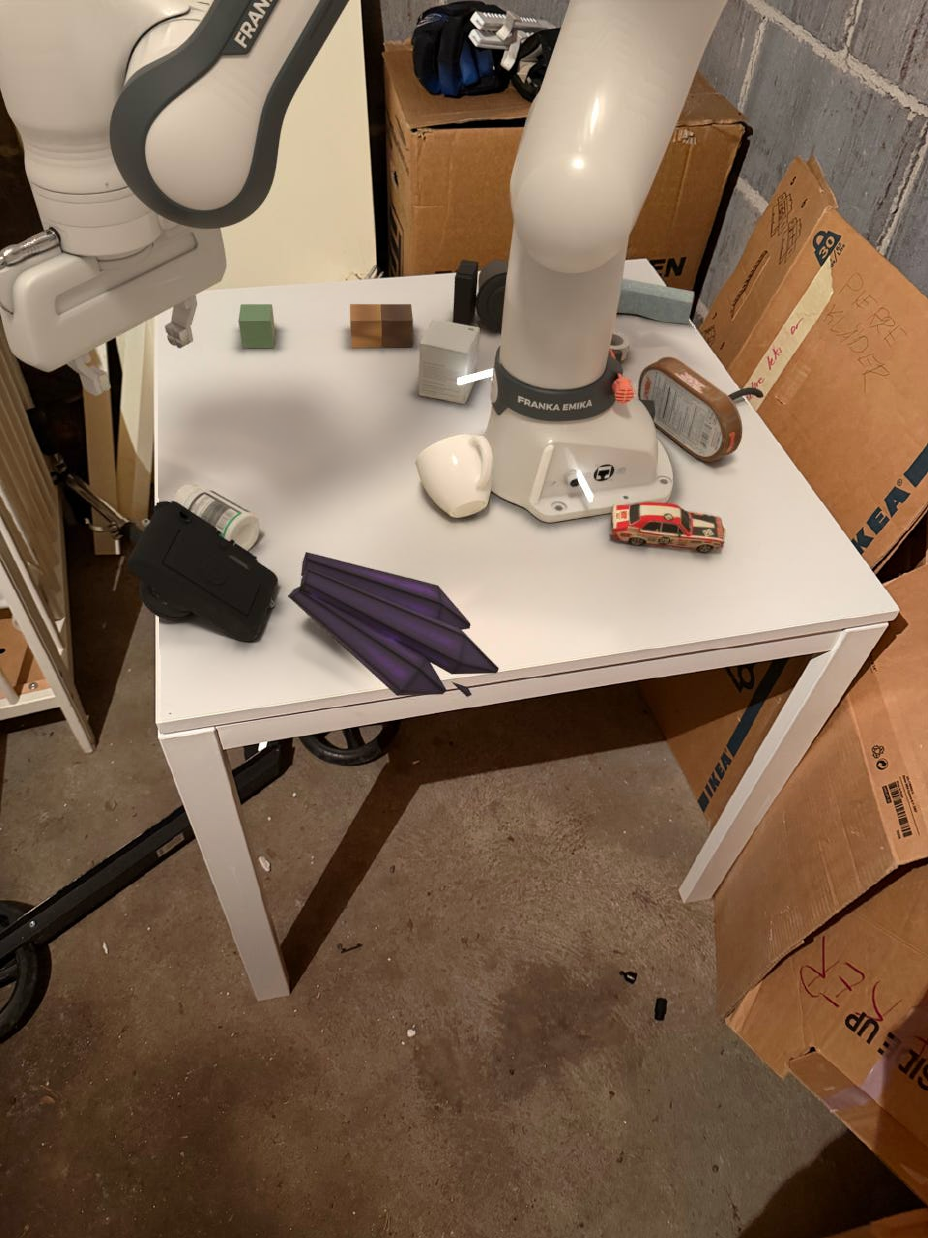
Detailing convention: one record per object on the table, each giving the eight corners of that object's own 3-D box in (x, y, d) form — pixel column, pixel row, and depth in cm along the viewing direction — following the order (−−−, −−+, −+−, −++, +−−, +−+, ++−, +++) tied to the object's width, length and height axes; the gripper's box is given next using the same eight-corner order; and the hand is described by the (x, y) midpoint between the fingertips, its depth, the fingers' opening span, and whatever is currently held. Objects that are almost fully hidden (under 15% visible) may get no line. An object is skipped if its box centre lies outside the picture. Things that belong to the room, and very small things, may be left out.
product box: (432, 369, 113) (433, 317, 108) (477, 378, 112) (481, 326, 107) (417, 395, 109) (418, 343, 104) (464, 405, 109) (468, 352, 103)
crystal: (311, 544, 84) (496, 637, 87) (258, 645, 78) (457, 740, 81) (327, 508, 78) (525, 609, 81) (270, 614, 72) (485, 719, 75)
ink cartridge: (459, 312, 122) (462, 256, 116) (475, 315, 122) (478, 259, 116) (451, 331, 119) (453, 274, 113) (467, 333, 119) (471, 277, 113)
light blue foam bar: (539, 257, 126) (537, 270, 129) (529, 300, 125) (528, 312, 128) (696, 286, 125) (691, 299, 128) (688, 330, 124) (683, 341, 127)
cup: (479, 522, 98) (460, 468, 100) (529, 479, 91) (509, 421, 92) (421, 527, 94) (402, 470, 95) (469, 483, 86) (448, 422, 87)
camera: (230, 664, 85) (255, 603, 90) (270, 635, 81) (294, 573, 86) (95, 584, 79) (130, 523, 84) (131, 548, 74) (165, 486, 80)
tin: (732, 468, 103) (754, 408, 97) (713, 477, 102) (734, 416, 95) (646, 402, 111) (661, 342, 105) (627, 409, 110) (641, 349, 103)
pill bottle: (258, 549, 91) (201, 515, 94) (264, 509, 89) (204, 475, 92) (224, 563, 88) (165, 526, 91) (229, 521, 85) (168, 485, 88)
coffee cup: (537, 269, 124) (549, 295, 116) (504, 318, 128) (513, 346, 120) (489, 237, 120) (499, 262, 113) (457, 288, 124) (464, 316, 117)
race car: (611, 523, 98) (612, 491, 95) (723, 529, 95) (728, 496, 92) (607, 554, 95) (608, 522, 91) (723, 561, 92) (728, 528, 89)
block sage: (275, 331, 117) (272, 303, 114) (273, 348, 115) (270, 320, 112) (244, 331, 117) (240, 303, 114) (242, 348, 114) (238, 320, 111)
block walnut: (411, 331, 119) (411, 303, 116) (412, 347, 116) (412, 319, 113) (381, 331, 119) (380, 303, 116) (382, 347, 116) (381, 320, 113)
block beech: (381, 331, 119) (380, 303, 116) (382, 347, 116) (381, 320, 113) (351, 331, 118) (349, 303, 115) (351, 347, 116) (350, 320, 113)
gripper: (10, 273, 61) (68, 436, 71) (225, 177, 72) (248, 330, 82) (-47, 244, 63) (17, 407, 73) (171, 156, 74) (199, 307, 85)
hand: (141, 366), depth 78 cm, fingers open, 8 cm apart
